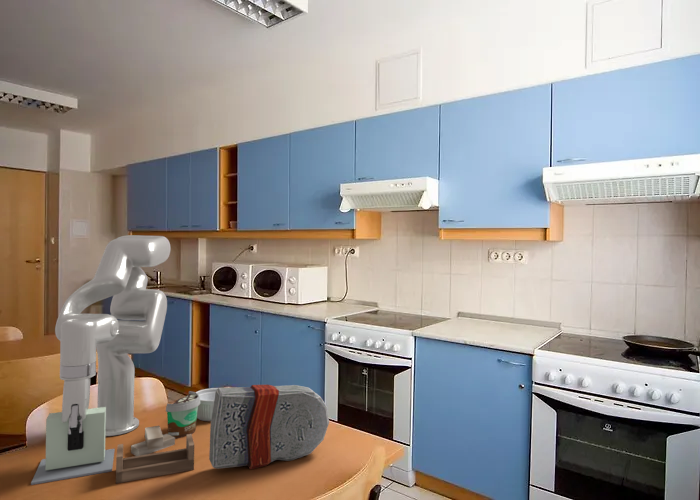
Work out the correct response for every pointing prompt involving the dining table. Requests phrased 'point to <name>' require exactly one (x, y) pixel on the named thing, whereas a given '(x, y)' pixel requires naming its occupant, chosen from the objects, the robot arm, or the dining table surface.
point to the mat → (73, 470)
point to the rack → (154, 463)
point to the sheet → (59, 440)
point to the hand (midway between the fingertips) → (76, 444)
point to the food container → (183, 415)
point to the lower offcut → (143, 450)
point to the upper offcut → (153, 437)
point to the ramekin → (206, 404)
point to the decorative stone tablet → (265, 425)
